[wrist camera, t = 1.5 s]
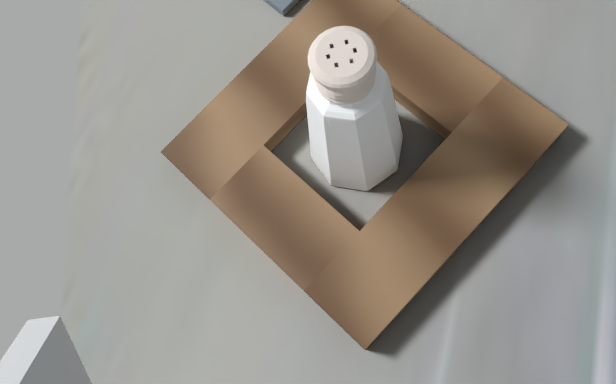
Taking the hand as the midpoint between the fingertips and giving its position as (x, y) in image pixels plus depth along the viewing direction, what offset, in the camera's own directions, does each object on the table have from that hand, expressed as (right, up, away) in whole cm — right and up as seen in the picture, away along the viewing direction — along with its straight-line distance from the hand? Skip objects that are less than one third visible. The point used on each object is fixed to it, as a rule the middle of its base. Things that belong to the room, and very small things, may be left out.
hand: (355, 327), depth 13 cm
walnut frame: (+2, +6, +21) cm, 21 cm away
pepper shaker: (+2, +6, +21) cm, 22 cm away
